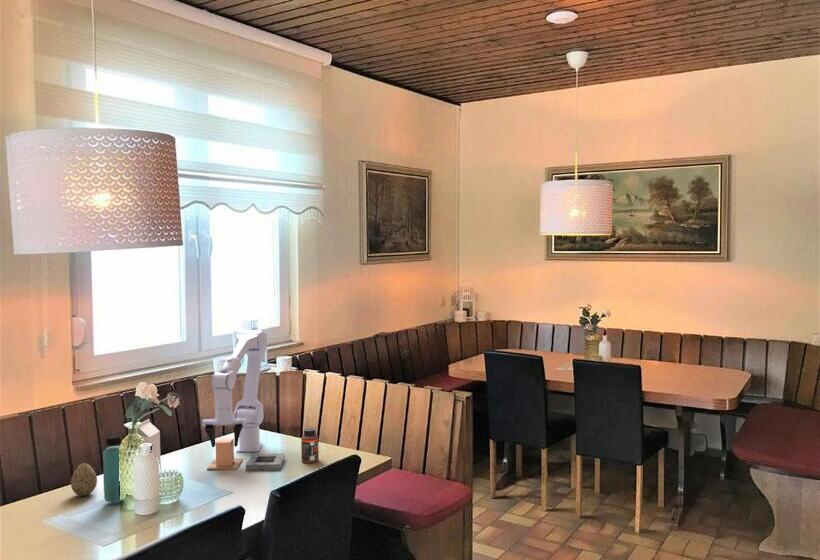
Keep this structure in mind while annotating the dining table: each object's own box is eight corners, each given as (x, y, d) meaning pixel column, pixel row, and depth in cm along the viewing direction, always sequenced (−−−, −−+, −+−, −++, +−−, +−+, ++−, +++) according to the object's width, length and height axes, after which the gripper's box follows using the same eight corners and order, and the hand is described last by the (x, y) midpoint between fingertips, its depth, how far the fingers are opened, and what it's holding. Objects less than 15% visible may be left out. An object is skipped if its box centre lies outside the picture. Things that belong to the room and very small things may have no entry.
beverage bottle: (119, 508, 194) (116, 440, 193) (98, 506, 196) (96, 439, 195) (132, 499, 201) (130, 433, 200) (112, 498, 202) (110, 432, 201)
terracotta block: (219, 461, 234) (218, 438, 233) (234, 460, 234) (233, 438, 234) (216, 465, 229) (215, 442, 228) (230, 465, 229) (230, 442, 229)
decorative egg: (81, 490, 209) (80, 458, 208) (102, 491, 208) (101, 459, 207) (66, 499, 202) (64, 466, 201) (87, 500, 200) (86, 467, 200)
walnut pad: (213, 460, 236) (213, 459, 236) (242, 460, 237) (242, 458, 237) (207, 470, 226) (206, 468, 226) (236, 469, 227) (236, 467, 227)
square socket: (251, 460, 237) (251, 454, 237) (284, 459, 237) (284, 453, 237) (245, 471, 225) (245, 465, 225) (280, 470, 226) (280, 464, 226)
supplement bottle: (317, 463, 232) (316, 431, 231) (300, 463, 232) (299, 431, 232) (319, 458, 238) (319, 426, 237) (303, 458, 238) (302, 426, 238)
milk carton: (161, 475, 221) (159, 418, 220) (150, 483, 214) (149, 424, 213) (140, 475, 222) (138, 418, 221) (129, 482, 215) (127, 424, 214)
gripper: (199, 410, 226) (200, 450, 227) (242, 409, 227) (243, 449, 228) (204, 405, 233) (205, 443, 234) (246, 404, 234) (247, 442, 235)
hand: (224, 446), depth 231 cm, fingers open, 7 cm apart
